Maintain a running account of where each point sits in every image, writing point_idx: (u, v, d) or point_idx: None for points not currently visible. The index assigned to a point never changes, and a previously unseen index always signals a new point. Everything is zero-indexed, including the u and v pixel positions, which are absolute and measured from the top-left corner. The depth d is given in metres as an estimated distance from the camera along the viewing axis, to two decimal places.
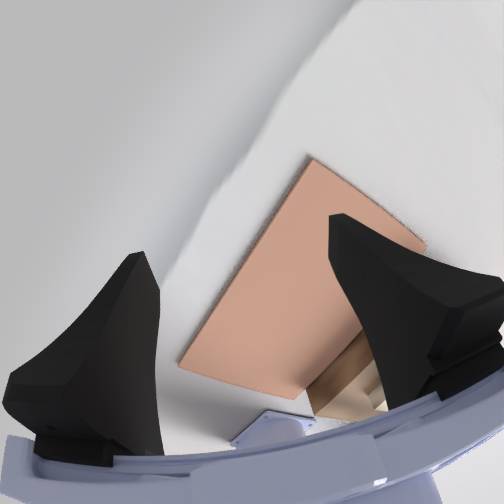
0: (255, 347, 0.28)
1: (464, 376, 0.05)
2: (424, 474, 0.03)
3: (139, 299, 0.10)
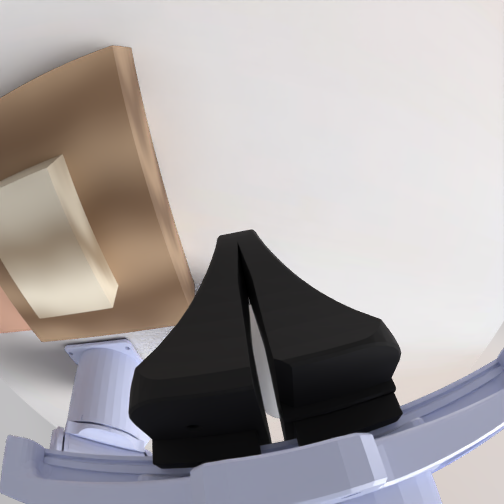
0: None
1: (327, 430, 0.05)
2: (424, 474, 0.03)
3: (242, 281, 0.10)
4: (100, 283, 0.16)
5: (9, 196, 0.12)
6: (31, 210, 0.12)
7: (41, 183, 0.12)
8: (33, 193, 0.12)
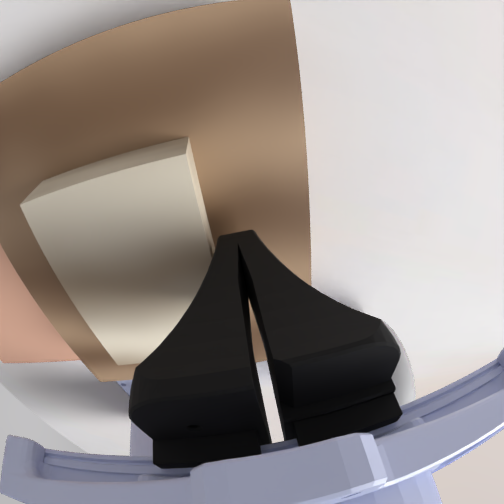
0: (1, 320, 0.18)
1: (327, 430, 0.05)
2: (424, 474, 0.03)
3: (242, 281, 0.10)
4: None
5: (98, 197, 0.08)
6: (139, 222, 0.09)
7: (169, 179, 0.09)
8: (150, 194, 0.09)
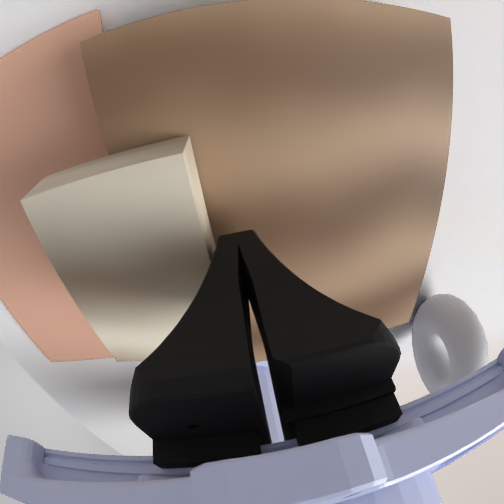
0: (63, 311, 0.18)
1: (326, 430, 0.05)
2: (424, 474, 0.03)
3: (242, 281, 0.10)
4: None
5: (96, 195, 0.08)
6: (136, 220, 0.09)
7: (166, 178, 0.08)
8: (146, 193, 0.09)
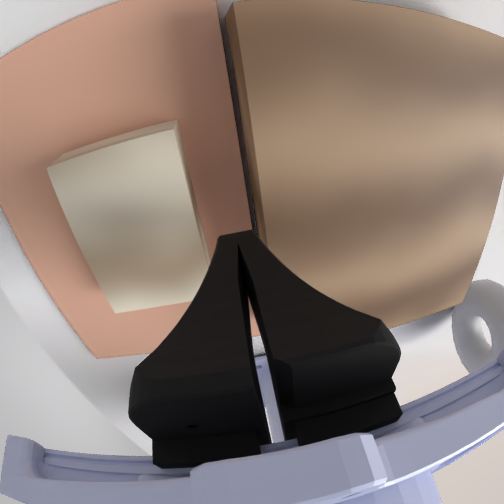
0: None
1: (327, 430, 0.05)
2: (424, 474, 0.03)
3: (242, 281, 0.10)
4: None
5: None
6: None
7: None
8: None
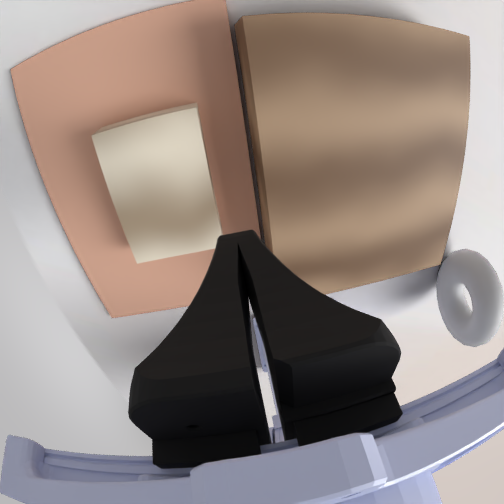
0: None
1: (327, 430, 0.05)
2: (424, 474, 0.03)
3: (242, 281, 0.10)
4: None
5: None
6: None
7: None
8: None
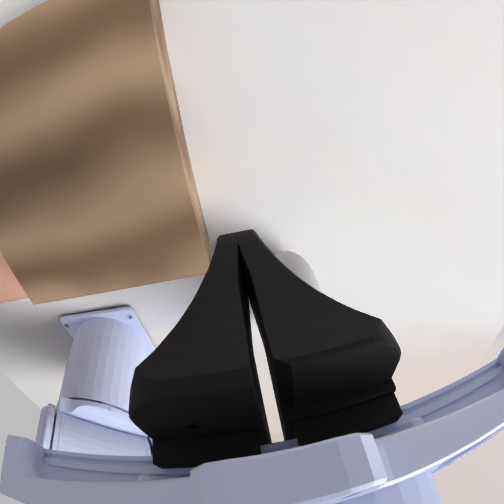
0: None
1: (327, 430, 0.05)
2: (424, 474, 0.03)
3: (242, 281, 0.10)
4: None
5: None
6: None
7: None
8: None
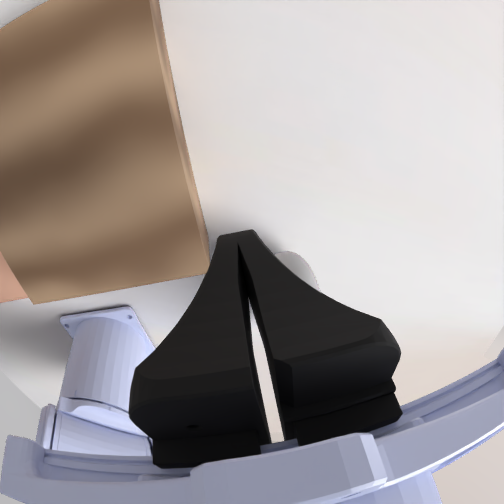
0: None
1: (327, 430, 0.05)
2: (424, 474, 0.03)
3: (242, 281, 0.10)
4: None
5: None
6: None
7: None
8: None
